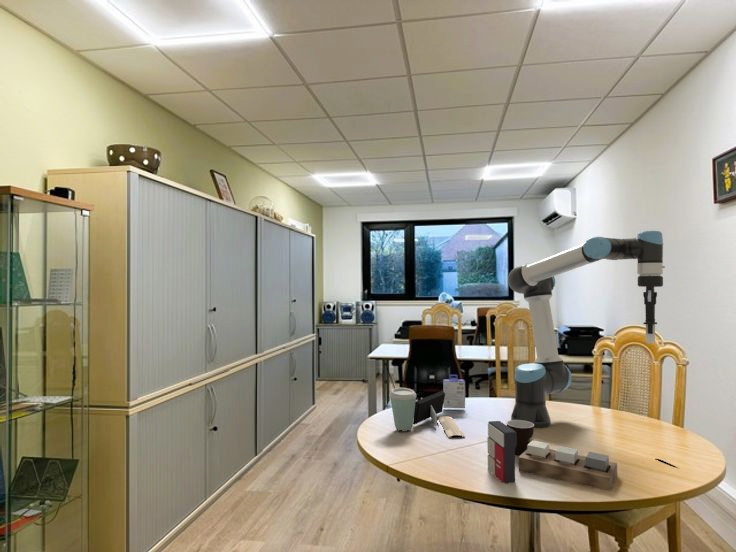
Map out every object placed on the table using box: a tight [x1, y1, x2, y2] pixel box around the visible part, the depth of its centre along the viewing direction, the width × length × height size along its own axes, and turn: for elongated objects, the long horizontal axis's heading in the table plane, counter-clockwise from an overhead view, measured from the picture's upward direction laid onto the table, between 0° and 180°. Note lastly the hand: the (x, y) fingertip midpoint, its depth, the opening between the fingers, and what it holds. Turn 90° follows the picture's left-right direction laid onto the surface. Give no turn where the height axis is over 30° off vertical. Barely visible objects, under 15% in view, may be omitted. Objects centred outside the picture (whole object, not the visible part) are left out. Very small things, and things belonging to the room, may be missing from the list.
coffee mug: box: [506, 419, 535, 457], centre depth 149 cm, size 12×9×10 cm
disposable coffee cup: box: [388, 387, 417, 432], centre depth 175 cm, size 11×11×15 cm
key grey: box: [555, 445, 579, 466], centre depth 130 cm, size 5×5×5 cm
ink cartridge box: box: [442, 374, 466, 409], centre depth 205 cm, size 10×6×14 cm, turn 83°
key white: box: [527, 440, 550, 459], centre depth 135 cm, size 5×5×5 cm
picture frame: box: [413, 390, 445, 427], centre depth 188 cm, size 22×10×10 cm
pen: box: [654, 458, 680, 470], centre depth 135 cm, size 2×14×2 cm, turn 11°
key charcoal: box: [585, 451, 610, 473], centre depth 125 cm, size 5×5×5 cm
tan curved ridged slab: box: [437, 415, 466, 439], centre depth 176 cm, size 24×7×2 cm, turn 1°
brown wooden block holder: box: [518, 448, 618, 492], centre depth 130 cm, size 24×12×5 cm, turn 53°
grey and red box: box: [486, 420, 517, 484], centre depth 130 cm, size 11×4×15 cm, turn 9°
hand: (650, 342), depth 157 cm, fingers closed
